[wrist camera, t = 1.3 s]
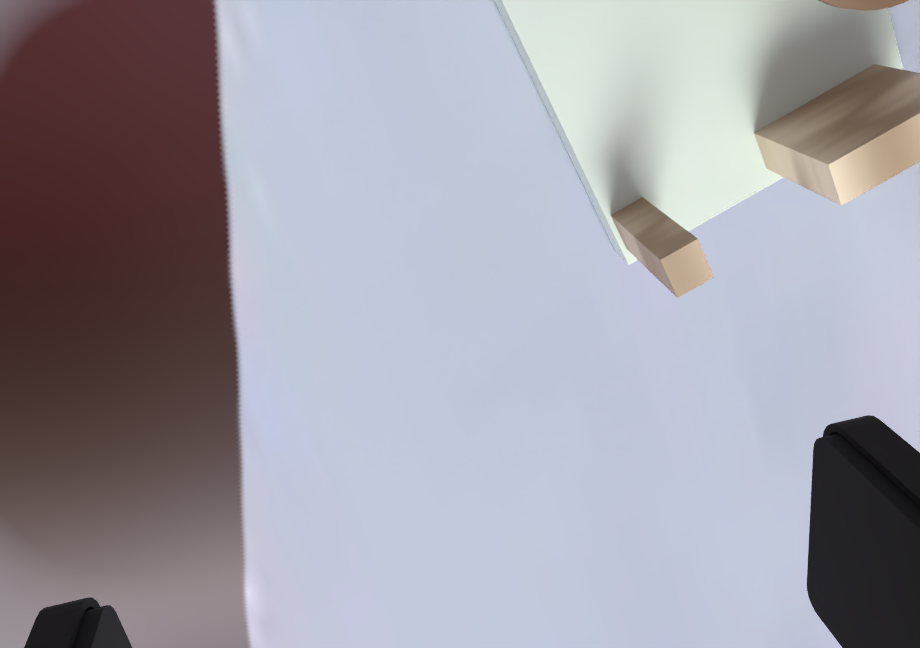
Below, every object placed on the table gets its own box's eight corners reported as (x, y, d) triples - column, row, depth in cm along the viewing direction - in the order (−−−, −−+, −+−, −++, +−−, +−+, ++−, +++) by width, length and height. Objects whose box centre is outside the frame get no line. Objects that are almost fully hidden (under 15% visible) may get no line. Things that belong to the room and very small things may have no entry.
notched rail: (874, 63, 31) (971, 84, 26) (884, 101, 31) (980, 127, 27) (610, 215, 32) (660, 259, 27) (626, 248, 32) (677, 297, 28)
